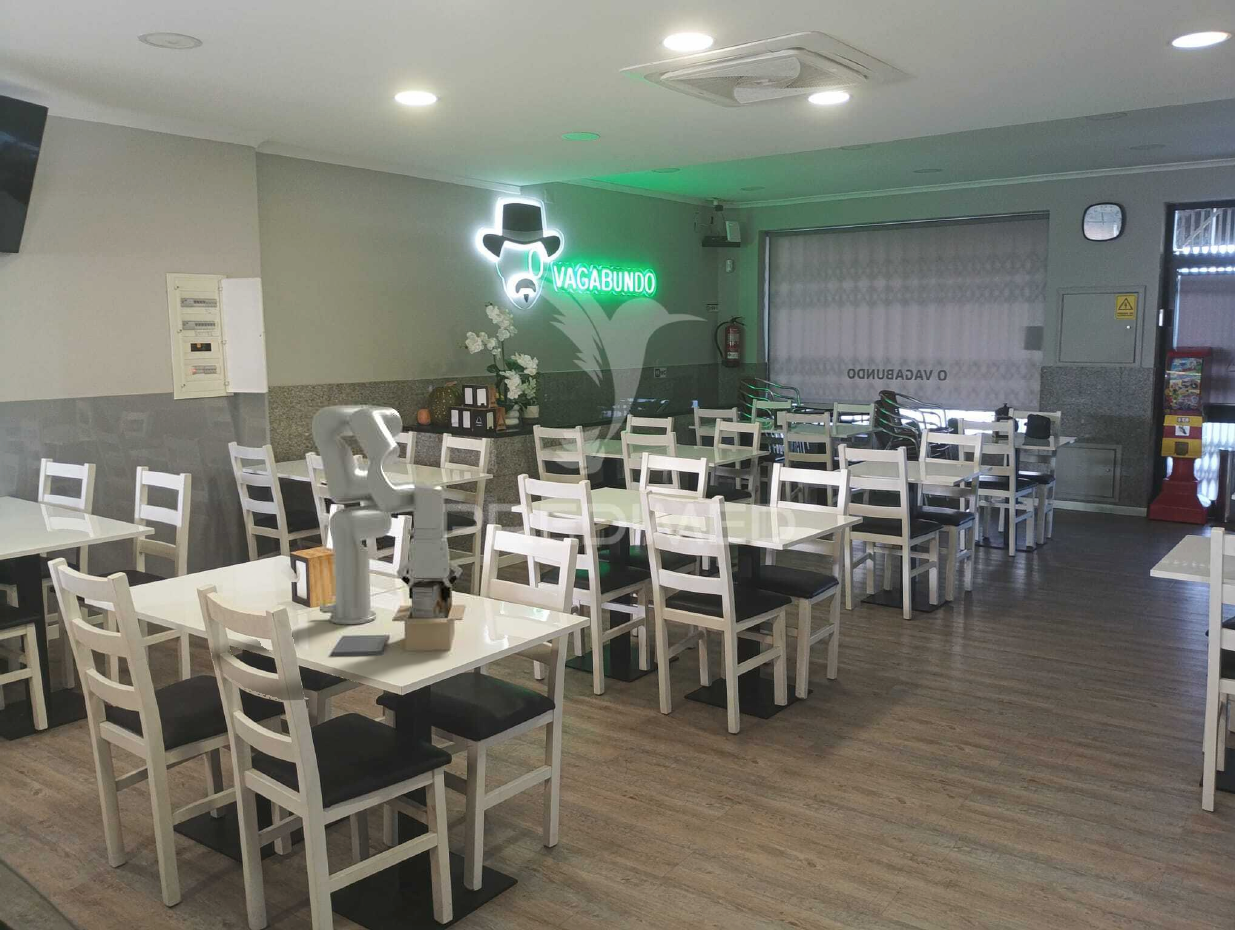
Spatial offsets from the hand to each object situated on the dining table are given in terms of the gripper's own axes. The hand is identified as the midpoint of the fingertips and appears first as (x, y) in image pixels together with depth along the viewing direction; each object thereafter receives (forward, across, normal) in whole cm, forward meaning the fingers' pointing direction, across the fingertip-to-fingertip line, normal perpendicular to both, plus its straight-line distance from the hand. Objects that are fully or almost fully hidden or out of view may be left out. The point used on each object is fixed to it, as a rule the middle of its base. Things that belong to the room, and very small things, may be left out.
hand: (430, 600), depth 242 cm
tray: (+11, -17, -3) cm, 20 cm away
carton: (+11, 0, -2) cm, 11 cm away
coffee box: (+11, 0, 0) cm, 11 cm away
